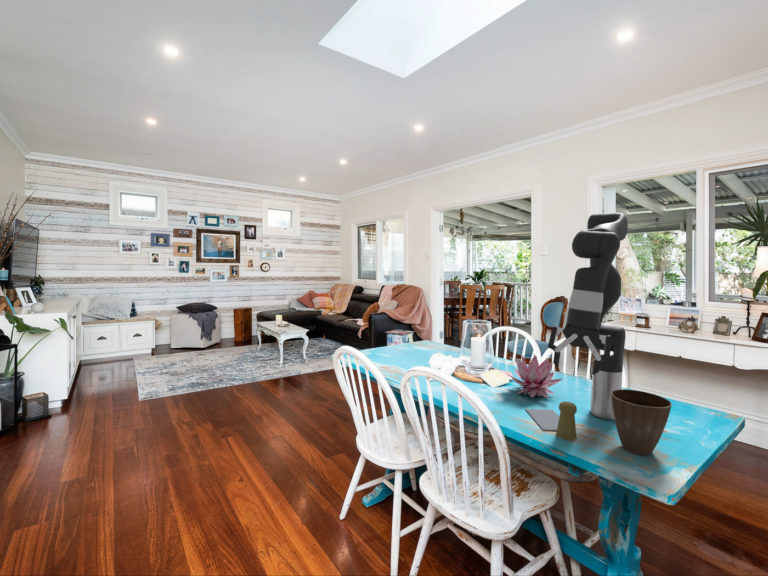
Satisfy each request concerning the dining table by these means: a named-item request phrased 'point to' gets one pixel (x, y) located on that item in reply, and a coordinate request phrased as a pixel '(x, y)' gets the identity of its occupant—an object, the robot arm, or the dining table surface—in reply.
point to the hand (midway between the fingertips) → (574, 370)
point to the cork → (567, 421)
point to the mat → (545, 418)
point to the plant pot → (639, 419)
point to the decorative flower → (535, 377)
